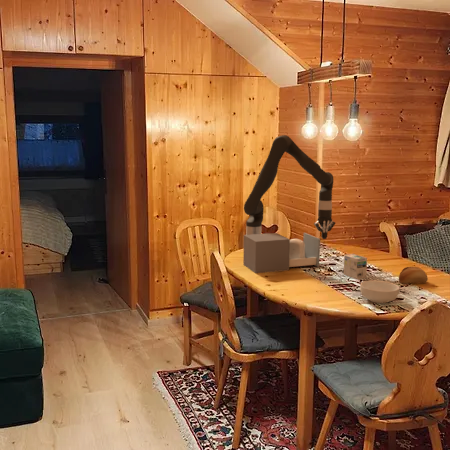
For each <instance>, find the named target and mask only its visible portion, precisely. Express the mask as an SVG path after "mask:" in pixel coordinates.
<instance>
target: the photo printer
mask: <svg viewBox="0 0 450 450" xmlns="http://www.w3.org/2000/svg"><path fill="white" fill-rule="evenodd" d="M300 258H305V243H304V242H303V240H302V239H299V238H291V239H290V253H289V259H300Z"/></svg>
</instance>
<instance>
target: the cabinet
mask: <svg viewBox="0 0 450 450" xmlns="http://www.w3.org/2000/svg"><path fill="white" fill-rule="evenodd" d="M290 240H291V239H290V238H288V237H286V236H284V235H281V234H280V233H278V232H271V233H270V232H269V233H261V234H252V235H246V234H244V235H243V266H244V267H245V268H247V269H248V270H250V271H251V272H253V273H254V274H260V273H272V272H273V273H274V272H285V271H290V267H289V253H290Z"/></svg>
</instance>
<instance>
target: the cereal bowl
mask: <svg viewBox="0 0 450 450" xmlns="http://www.w3.org/2000/svg"><path fill="white" fill-rule="evenodd" d="M359 288H360V294H361V295H362V296H363V297H364V298H365V299H367V300H369V301H370V302H372V303H375V304H386V303H389V302H392V301H394V300H396V299H397V298H398V296H399V294H400V286H399V285H397V284H395V283H392V282H389V281H385V280H375V279H374V280H365V281H362V282H361V283H360V286H359Z"/></svg>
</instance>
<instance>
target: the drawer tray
mask: <svg viewBox="0 0 450 450" xmlns="http://www.w3.org/2000/svg"><path fill="white" fill-rule="evenodd" d="M302 239H303V240H302V241H303V242H304V243H305V258H300V259H289V268H292V267H293V268H295V267H306V266H313V265H314V266H315V267H318V268H319V267H320V258H321V257H320V256H321V255H320V254H321V253H320V251H321V238H320V237H317V236H314V235H312V234H309V233H307V232H303V238H302Z"/></svg>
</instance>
